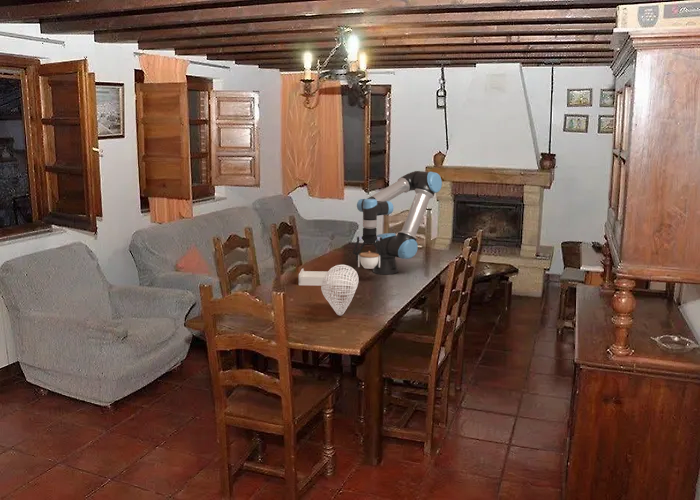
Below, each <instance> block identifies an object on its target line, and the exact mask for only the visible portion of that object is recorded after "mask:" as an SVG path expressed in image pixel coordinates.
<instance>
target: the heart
mask: <svg viewBox="0 0 700 500" xmlns="http://www.w3.org/2000/svg"><path fill="white" fill-rule="evenodd" d="M347 269H348V270H347ZM350 269H351V270H350ZM349 270H350V271H349ZM331 271H332V272H331ZM330 272H331V273H330ZM339 272H341V273H339ZM345 272H346V273H345ZM348 272H349V273H350V275H349V273H348ZM329 273H330V274H329ZM344 273H345V274H344ZM352 273H353V274H352ZM327 274H328V275H327ZM327 274H326V277H324V279H325V280H324V279H323V281H322V284H321V288H320V290H321V293H322V295H323V297H324V298H325V300H326V301H327V302H328V304H329V305H330V307H331V308H332V310H333V312H335V313H336V315H337V316H343V315H344V313H346V311H347V309H348V308H349V306H350V305H351V302H352V301H353V298H354V296H355V293H356V290H357V288H358V286H359V275H358V272H357V270H356V269H354V268H353V267H352V266H350V265H347V264H336V265H335V266H332V267H331V268H330V269H329V270H328V272H327ZM332 274H334V275H332ZM336 274H337V275H336ZM339 274H340V275H339ZM341 275H343V276H341ZM344 275H346V276H344ZM352 275H353V276H352ZM336 276H337V277H338V279H336ZM339 276H340V277H343V279H339ZM347 276H349V277H347ZM354 276H355V277H354ZM332 277H333V279H332ZM344 277H346V279H344ZM329 278H330V279H329ZM347 278H349V279H347ZM350 278H351V279H350ZM330 280H331V281H333V284H332V283H331V284H330ZM335 280H338V283H337V281H336V284H334V281H335ZM340 280H342V283H340ZM349 280H350V281H351V282H350V281H349ZM344 281H345V283H344ZM352 281H353V282H354V283H352ZM347 282H348V283H347ZM349 282H350V284H349ZM346 284H348V285H346ZM332 285H333V286H332ZM334 285H336V286H334ZM337 285H338V286H337ZM340 285H342V286H340ZM344 285H345V286H344Z"/></svg>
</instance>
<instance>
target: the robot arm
mask: <svg viewBox="0 0 700 500" xmlns="http://www.w3.org/2000/svg"><path fill="white" fill-rule="evenodd" d="M442 186H443V182H442V178H441V175H440V174H439V173H437V172H434V171H423V170H414V171H412V172H409V173H407V174H405V175H404V174H403V176H401V177H399V178H398V179H397V180H396V181H395V182H393V183H392V184H390V185H389V186H386V187H385V188H383V189H381V190H380V191H378V192H376V193H374V194H372V195H371V196H369V197H367V198H360V199H358V201H357V203H356V208H357V209H356V210H358V211H359V212H361V213H362V227H363V228H362V236H357V237H356V242H355V245H354V247H353V248H354V249H353V251H352V254H353V255H355V260H356V261H357V267H358V268H360V267H361V266H360V265H361V263H360V253H361V251H362V249H363V248H364V247H365V246H366V245H374V247H375V253H378V254H379V260H378V264H377V265H376V266H375V268H373V269H372V272H373V273H375V274H377V275H378V274H379V275H393V274H398V273H399V266H398V263H397V260H396V258H400V259H405V260H409V259H412V258H414V257H415V256H416V254H417V252H418V249H419V247H418V246H419V245H418V242H417V241H418V239H417V236H416V235H417V233H418V230H419V229H420V228H419V227H420V225H421V223H422V219H423V217H424V215H425V212H426V209H427V207H428V204H429V201H430V199H432V198H434V196H435V194H437V193H438V192H440V191H441V189H442ZM410 191H411V192H412V191H414V193H415V195H414V198H413V201H412V203H411V205H410V207H409V211H408V214H407V216H406V218H405V221H404V223H403V226H402V229H401V230H400V231H397V234H396V232H386V233H379V234H377V225H378V224H377V223H378V221H377V220H378V219H377V218H378V216H387V215H391V214H392V213H393V212H394V204H393V202H392V201H391V200H393V199H395V198H396V197H398V196H399V195H401V194H405V193H406V194H407V193H408V192H410ZM360 241H363V242H362V244H361V245H360V246H359V243H360ZM358 246H359V248H358Z"/></svg>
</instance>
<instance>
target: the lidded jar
mask: <svg viewBox="0 0 700 500" xmlns="http://www.w3.org/2000/svg"><path fill="white" fill-rule="evenodd" d="M359 255H360V265H361V266H362V267H363V268H364V269H368V270H369V269H372V270H373V268H375V266H376V265H377V264H378V260H379V254H378V253H376V252H373V251H371V250H368V251H365V252H360V253H359Z"/></svg>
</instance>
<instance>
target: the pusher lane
mask: <svg viewBox="0 0 700 500" xmlns="http://www.w3.org/2000/svg"><path fill="white" fill-rule="evenodd" d="M304 269H305V268H301V270H300V272H299V273H298V286H321V284H322V281H323V279H324V277H326V274H327V272H328V271H329V270H328V271H322V270H321V271H320V270H319V271H315V270H314V271H313V270H312V271H311V270H304ZM331 272H332V271H331ZM331 272H330V273H331ZM341 272H342V271H341ZM341 272H339V273H341ZM330 273H329V274H330ZM345 273H346V272H345ZM345 273H344V274H345ZM352 274H353V273H352ZM327 275H328V274H327ZM332 275H334V274H332ZM336 275H337V274H336ZM339 275H340V274H339ZM341 276H343V275H341ZM352 276H353V275H352ZM354 277H355V276H354ZM329 279H330V278H329ZM332 279H333V277H332ZM336 279H338V277H337V276H336ZM339 279H343V277H340V276H339ZM344 279H346V277H344ZM347 279H349V278H347ZM350 279H351V278H350ZM324 280H325V279H324ZM336 281H337V283H338V280H335V281H334V284H336ZM349 281H350V280H349ZM350 282H351V281H350ZM350 282H349V284H350ZM331 283H332V284H333V281H331V280H330V284H331ZM340 283H342V280H340ZM344 283H345V281H344ZM347 283H348V282H347ZM352 283H354V282H353V281H352ZM346 285H348V284H346ZM335 286H336V285H334V287H335ZM340 286H341V287H342V285H340ZM332 287H333V285H332ZM337 287H338V285H337ZM344 287H345V285H344Z"/></svg>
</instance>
